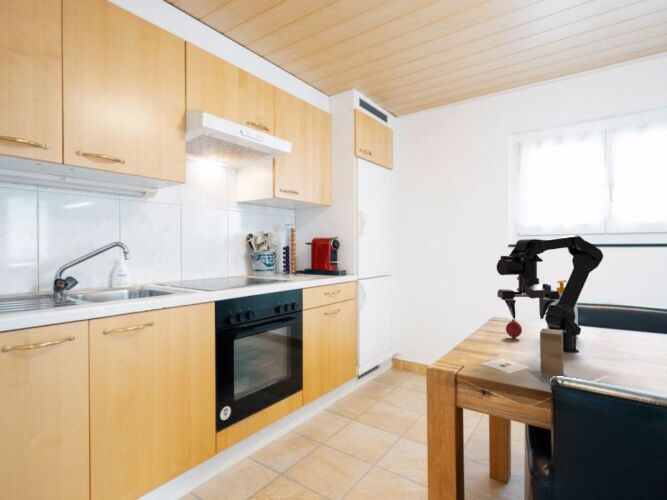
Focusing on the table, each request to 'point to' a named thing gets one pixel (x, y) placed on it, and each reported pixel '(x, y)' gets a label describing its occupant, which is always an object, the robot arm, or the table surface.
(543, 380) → the grey pad
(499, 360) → the tile
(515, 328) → the onion
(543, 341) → the walnut post
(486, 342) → the table surface
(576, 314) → the soap bottle
